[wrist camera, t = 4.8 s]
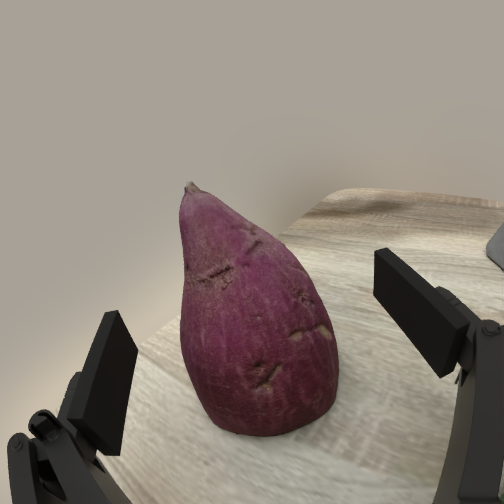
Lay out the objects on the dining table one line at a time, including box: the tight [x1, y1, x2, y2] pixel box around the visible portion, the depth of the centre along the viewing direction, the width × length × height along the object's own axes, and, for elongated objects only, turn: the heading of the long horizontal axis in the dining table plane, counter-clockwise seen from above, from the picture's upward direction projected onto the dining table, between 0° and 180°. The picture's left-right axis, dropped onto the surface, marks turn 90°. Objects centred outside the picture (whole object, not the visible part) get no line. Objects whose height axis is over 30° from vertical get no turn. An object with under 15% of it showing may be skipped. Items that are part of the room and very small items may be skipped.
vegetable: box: [179, 182, 339, 436], centre depth 18 cm, size 10×10×15 cm
